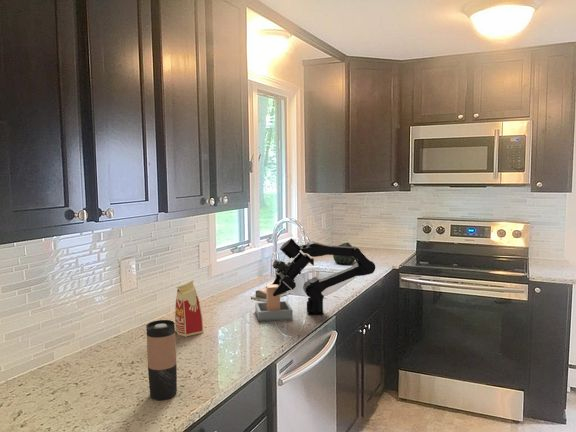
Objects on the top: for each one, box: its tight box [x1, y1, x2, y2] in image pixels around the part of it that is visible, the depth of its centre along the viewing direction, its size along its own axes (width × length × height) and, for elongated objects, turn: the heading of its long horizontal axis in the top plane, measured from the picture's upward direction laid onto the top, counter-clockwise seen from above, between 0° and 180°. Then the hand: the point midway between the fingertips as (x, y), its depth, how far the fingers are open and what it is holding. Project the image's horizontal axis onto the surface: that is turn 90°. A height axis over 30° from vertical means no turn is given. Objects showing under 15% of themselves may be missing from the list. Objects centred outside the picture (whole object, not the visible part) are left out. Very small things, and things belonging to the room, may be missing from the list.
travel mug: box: [145, 319, 178, 401], centre depth 129 cm, size 8×8×20 cm
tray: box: [254, 300, 294, 323], centre depth 200 cm, size 14×14×4 cm
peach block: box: [265, 283, 281, 311], centre depth 199 cm, size 5×5×12 cm
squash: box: [332, 242, 356, 266], centre depth 307 cm, size 14×15×15 cm
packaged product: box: [250, 287, 291, 302], centre depth 231 cm, size 18×5×10 cm
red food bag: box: [174, 279, 205, 337], centre depth 180 cm, size 9×9×20 cm
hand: (271, 292), depth 199 cm, fingers open, 9 cm apart
